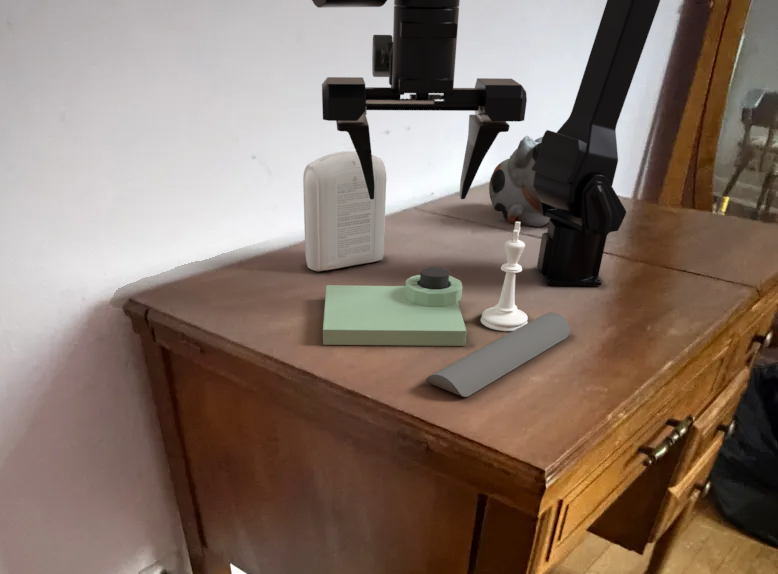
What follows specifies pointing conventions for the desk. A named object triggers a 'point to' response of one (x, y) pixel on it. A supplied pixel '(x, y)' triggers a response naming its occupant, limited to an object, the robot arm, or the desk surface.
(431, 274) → the button
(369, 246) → the white rounded block
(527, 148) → the lucky cat figurine
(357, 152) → the robot arm
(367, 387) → the desk surface
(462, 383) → the gray half cylinder
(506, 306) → the chess piece
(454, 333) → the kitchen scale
